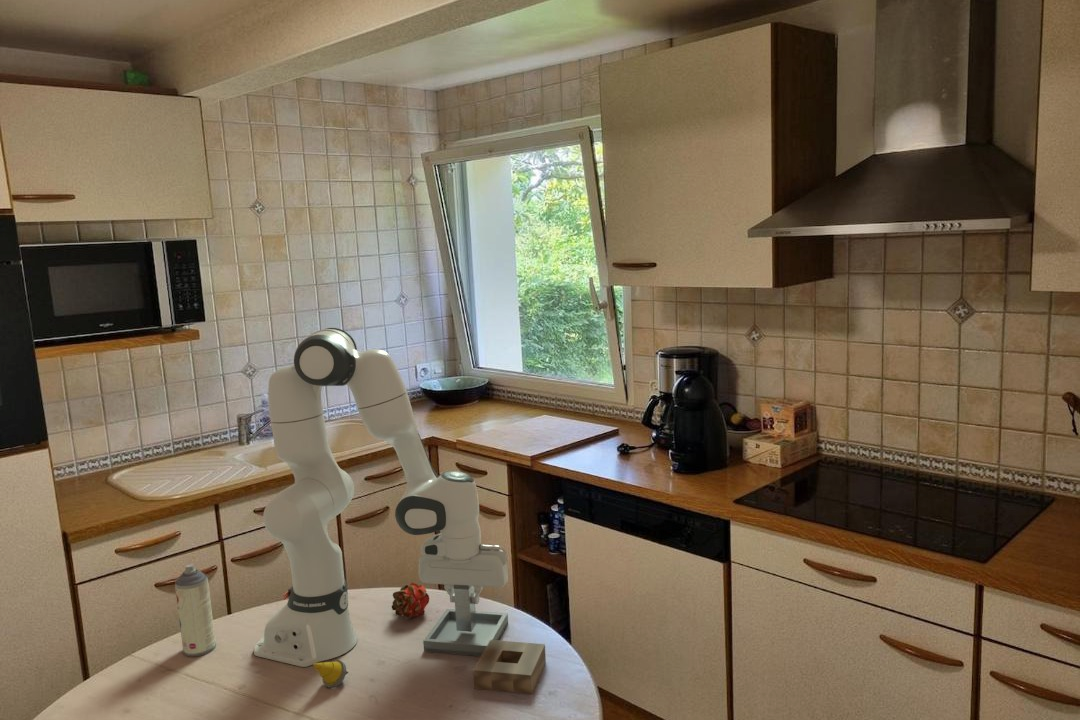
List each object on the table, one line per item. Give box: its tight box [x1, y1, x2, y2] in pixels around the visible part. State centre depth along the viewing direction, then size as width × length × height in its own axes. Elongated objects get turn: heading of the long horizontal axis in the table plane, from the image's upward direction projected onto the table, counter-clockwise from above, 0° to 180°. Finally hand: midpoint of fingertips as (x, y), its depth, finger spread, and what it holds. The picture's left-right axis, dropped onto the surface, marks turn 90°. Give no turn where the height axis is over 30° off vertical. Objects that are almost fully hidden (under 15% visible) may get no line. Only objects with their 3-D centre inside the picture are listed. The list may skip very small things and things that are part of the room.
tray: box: [422, 608, 509, 657], centre depth 180 cm, size 15×15×2 cm
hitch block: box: [472, 640, 547, 695], centre depth 163 cm, size 12×12×4 cm
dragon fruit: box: [391, 581, 430, 620], centre depth 191 cm, size 8×8×12 cm
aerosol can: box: [174, 563, 217, 658], centre depth 178 cm, size 7×7×20 cm
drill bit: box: [312, 659, 349, 689], centre depth 162 cm, size 5×5×10 cm
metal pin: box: [453, 585, 477, 632], centre depth 179 cm, size 4×4×11 cm
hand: (464, 602), depth 179 cm, fingers closed on metal pin, 3 cm apart
